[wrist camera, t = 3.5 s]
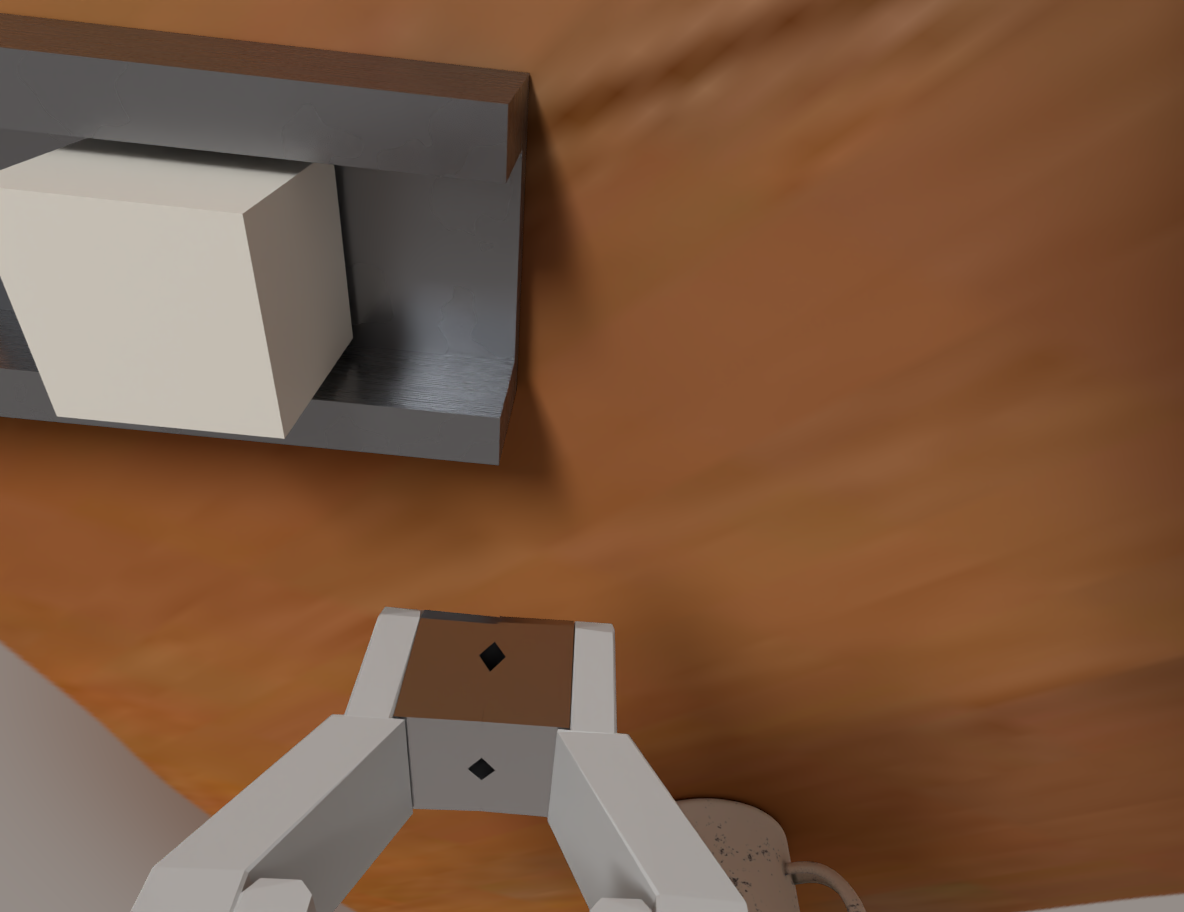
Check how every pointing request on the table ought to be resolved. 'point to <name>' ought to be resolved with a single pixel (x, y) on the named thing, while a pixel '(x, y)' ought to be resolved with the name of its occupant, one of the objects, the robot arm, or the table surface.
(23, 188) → the block
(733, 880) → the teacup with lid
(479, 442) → the chute
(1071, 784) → the table surface
